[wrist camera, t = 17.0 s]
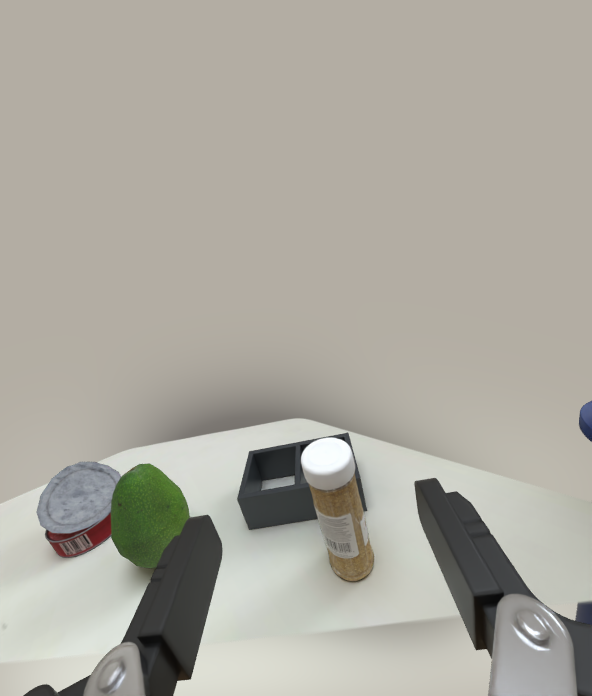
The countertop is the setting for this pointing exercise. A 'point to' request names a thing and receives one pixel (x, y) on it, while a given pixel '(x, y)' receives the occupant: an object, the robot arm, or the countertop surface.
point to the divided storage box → (283, 500)
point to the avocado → (146, 514)
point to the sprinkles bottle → (338, 506)
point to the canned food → (78, 507)
